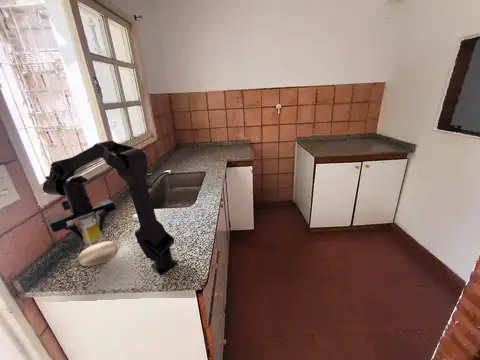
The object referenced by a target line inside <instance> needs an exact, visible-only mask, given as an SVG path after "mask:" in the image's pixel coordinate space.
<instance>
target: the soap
mask: <svg viewBox="0 0 480 360" xmlns="http://www.w3.org/2000/svg"><path fill="white" fill-rule="evenodd" d="M132 219H133V221H135V222H139V219H138V216H137V213H135V214H133V215H132Z"/></svg>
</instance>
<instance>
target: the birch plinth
mask: <svg viewBox="0 0 480 360" xmlns="http://www.w3.org/2000/svg"><path fill="white" fill-rule="evenodd" d="M117 251H118V249H117V244H116V243H115V242H114V241H111V240H110V241H106V240H105V241H101V242H99V243H98V244H95V245H92V246H87V247H86V248H85V249H83V250H82V251H81V252H80V253H79V255H78V256H77V259H78V262H79V264H80V265H81V266H82V267H94V266H97V265H101V264H103V263H104V262H106V261H108V260H110V259H111V258H112V257H113V256H114V255H115V254H116V252H117Z"/></svg>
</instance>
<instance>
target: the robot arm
mask: <svg viewBox="0 0 480 360" xmlns="http://www.w3.org/2000/svg"><path fill="white" fill-rule="evenodd" d="M101 159H103V160H104V162H105V163H106V165H108V166H109V167H111V168H113V169H115V170H116V172H117V174H118V176H119V177H120V178H122V180H124V182H126V183H127V186H128V188H129V189H128V190H129V193H130V195H131V196H130V197H131V199H132V202H133V206H134V209H135V212H136V213H135V214H137V216H138V219H139V221H138V223H139V228H138V229H136V231H134V236H135V239H136V244H138V246H139V247H140V250H141V251H142V252H143V254H144V256H145V257H146V258H147V259H149V260H150V261H152V262H153V263H152V264H151V265H150V266H151V268H152V269H153V270H154V271H155V272H156V273H157V274H159V276H161V275H163V274H165V273H166V272H168V271H169V270H171V269H173V268H174V267H176V266H177V265H178V262H177V261H176V260H175V259H173V257H172V251H171V247H172V246H173V245H174V243H175V238H174V237H173V236H172V235H171V234H170V233H168V232H167V230H166V229H165V227H164V224H162V223H161V222H160V221H158V220H157V216H156V213H155V209H154V205H153V201H152V197H151V194H150V190H149V186H148V182H147V174H148V170H149V164H148V156H147V154H146V152H144V151H143V150H141V149H140V148H135V147H133V146H130V145H127V144H121V143H118V142H116V141H114V140H110V139H107V140H103V141H99V142H96V143H95V144H94V145H92V146H90V147H88V148H87V149H85V150H83V151H81V152H79V153H77V154H76V155H74V156H71V157H67V158H64V159H60V160H57V161H56V160H55V161H53V162H51V164H50V170H49V175H46V176H45V179H46V180H45V181H44V182H43V184H42V190H43V192H44V193H46V194H47V195H49V196H50V195H52V196H65V197H66V199H67V200H64V201H61V202H60V204H61V207H62V209H63V211H69V210H70V212H71V215H68V216H66V217H64V215H63V214H60V215H57V216H55V217H50V218H49V219H48V220H47V222H48V225H49V228H50V229H51V231H52V233H56V232H59V231H62V230H65V231H68V230H69V231H71V232H73V233H74V234H75V235H77V236H78V238H80V239H81V240H83V236H82V235H81V232H80V230H79V227H77V224H76V223H74V221H76V220H79V218H82V217H85V216H88V215H93V214H95V217H96V220H97V222H98V225H99V228H100V231H101V232H103V227H104V224H105V223H104V222H105V219H106V216H108V215H109V213H110V212H113V211H115V210H117V205H116V203H115V202H114V201H112V200H111V199H110V198H108V199H105V200H102V201H99V202H98V205H97V206H93V205H92V202H91V199H90V196H89V193H88V190H87V187H86V183H87V182H89V179H88V178H87V177H84V176H82V175H79V174H81V173H83V172H84V171H85V170H87V167H88V166H90V165H92V164H93V163H95V162H97V161H99V160H101ZM74 176H75V177H74Z"/></svg>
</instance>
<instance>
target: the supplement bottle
mask: <svg viewBox="0 0 480 360" xmlns="http://www.w3.org/2000/svg"><path fill="white" fill-rule="evenodd" d="M78 221H79V224H78V227H77V228H78V230H79V231H80V233H81V235H82V236H83V239H82V240H83V243H84V245H86V246H87V247H90V246H92V245H95V244H98V243H100V242H103V234H102V231H100V228H99V225H98V221H97V218H94V217H93V214H91V215H88V216H85V217H82V218H79V219H78Z"/></svg>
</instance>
